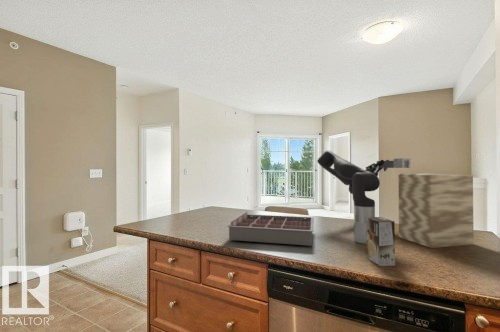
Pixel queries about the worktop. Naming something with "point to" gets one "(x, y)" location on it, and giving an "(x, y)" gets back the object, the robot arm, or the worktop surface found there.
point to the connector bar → (397, 163)
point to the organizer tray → (272, 229)
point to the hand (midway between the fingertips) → (385, 161)
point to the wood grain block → (436, 209)
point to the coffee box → (380, 241)
